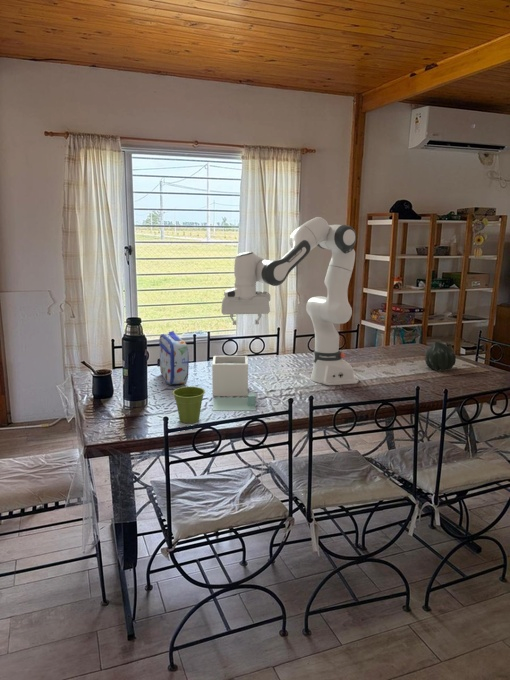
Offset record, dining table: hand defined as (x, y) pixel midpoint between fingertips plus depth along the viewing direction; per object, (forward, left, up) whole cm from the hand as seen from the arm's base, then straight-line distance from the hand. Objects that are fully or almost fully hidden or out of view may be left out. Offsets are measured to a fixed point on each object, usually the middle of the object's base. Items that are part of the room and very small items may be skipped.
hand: (245, 324), depth 212 cm
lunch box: (+34, -20, -31) cm, 50 cm away
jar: (+7, -3, -31) cm, 31 cm away
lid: (+6, +14, -31) cm, 34 cm away
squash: (-100, -36, -31) cm, 111 cm away
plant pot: (+22, +31, -31) cm, 48 cm away
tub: (+7, -3, -30) cm, 31 cm away
